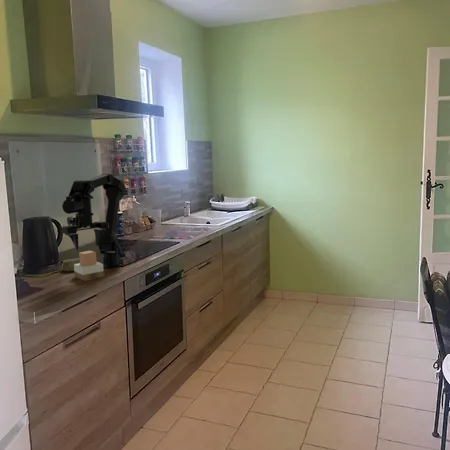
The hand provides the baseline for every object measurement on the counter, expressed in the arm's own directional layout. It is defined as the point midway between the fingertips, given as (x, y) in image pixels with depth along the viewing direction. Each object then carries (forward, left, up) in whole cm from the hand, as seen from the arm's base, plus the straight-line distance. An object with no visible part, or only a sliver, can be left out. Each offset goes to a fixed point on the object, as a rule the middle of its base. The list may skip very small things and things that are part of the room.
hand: (87, 247), depth 194 cm
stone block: (-3, -17, -13) cm, 22 cm away
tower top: (0, 0, -10) cm, 10 cm away
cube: (0, 0, -7) cm, 7 cm away
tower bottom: (0, 0, -13) cm, 13 cm away
